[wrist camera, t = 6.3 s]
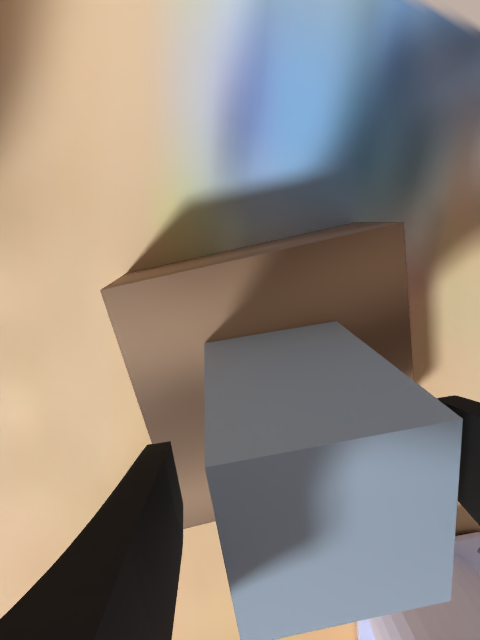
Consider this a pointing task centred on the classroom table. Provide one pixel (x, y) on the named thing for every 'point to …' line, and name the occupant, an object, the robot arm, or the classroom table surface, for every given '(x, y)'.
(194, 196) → the classroom table surface
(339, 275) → the walnut base
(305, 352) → the grey block
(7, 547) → the classroom table surface
